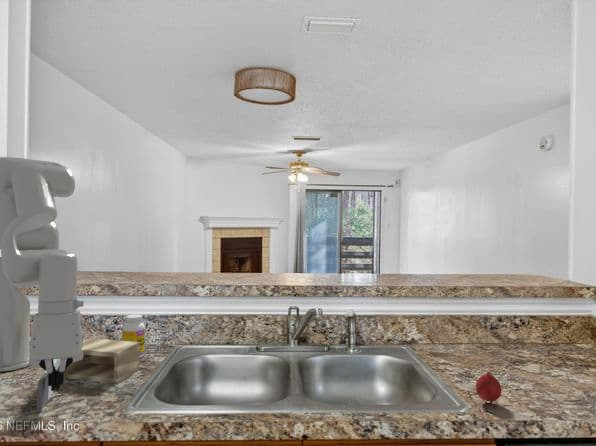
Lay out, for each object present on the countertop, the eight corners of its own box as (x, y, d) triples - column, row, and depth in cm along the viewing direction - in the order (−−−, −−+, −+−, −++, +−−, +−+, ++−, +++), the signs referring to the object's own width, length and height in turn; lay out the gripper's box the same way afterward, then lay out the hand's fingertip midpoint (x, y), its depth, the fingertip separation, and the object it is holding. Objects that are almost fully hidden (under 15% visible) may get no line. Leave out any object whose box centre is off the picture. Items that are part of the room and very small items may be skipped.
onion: (471, 397, 105) (472, 366, 105) (494, 398, 105) (495, 367, 105) (480, 408, 100) (481, 374, 100) (505, 409, 99) (506, 375, 99)
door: (58, 374, 111) (59, 350, 111) (63, 374, 112) (64, 350, 112) (35, 412, 90) (36, 382, 90) (42, 411, 90) (42, 382, 90)
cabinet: (63, 377, 112) (64, 348, 112) (88, 365, 122) (89, 338, 121) (117, 383, 109) (118, 353, 109) (138, 370, 119) (139, 342, 119)
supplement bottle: (136, 361, 126) (137, 319, 126) (117, 359, 127) (118, 317, 127) (148, 354, 133) (149, 314, 133) (130, 352, 134) (130, 313, 134)
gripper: (95, 302, 100) (93, 378, 100) (21, 306, 94) (19, 387, 94) (94, 308, 93) (92, 389, 93) (14, 313, 87) (12, 400, 87)
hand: (56, 388), depth 94 cm, fingers closed
